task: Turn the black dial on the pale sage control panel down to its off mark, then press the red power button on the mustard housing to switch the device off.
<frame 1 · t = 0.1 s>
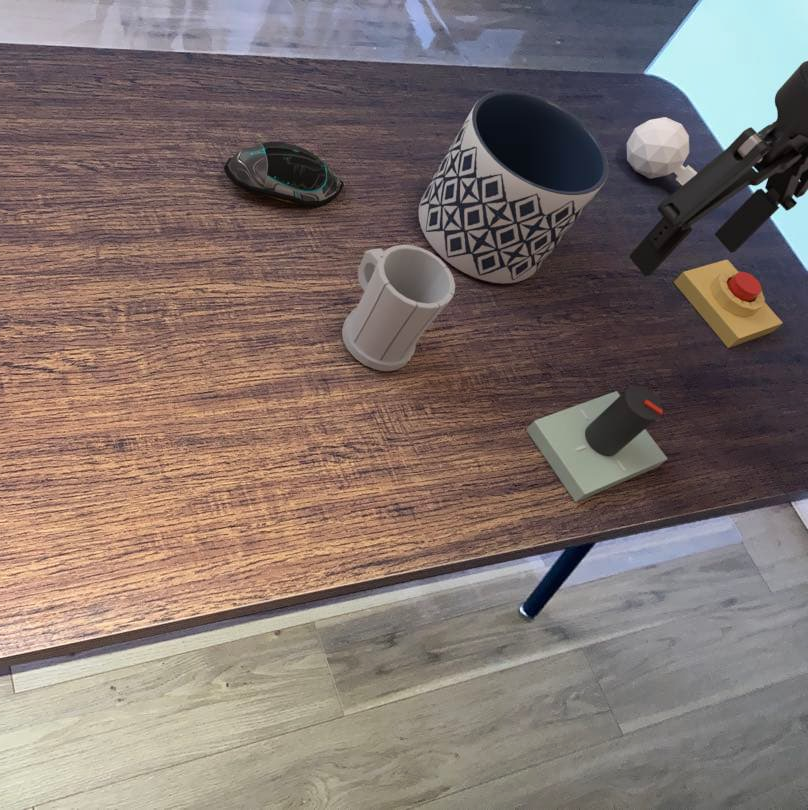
hand: (683, 254, 93), 23 cm above the table, tool pointing down, fingers open, 13 cm apart
planter: (478, 235, 122), on the table
cup: (369, 339, 106), on the table
power box: (722, 307, 128), on the table
computer mouse: (280, 186, 117), on the table
power button: (744, 286, 124), point 4 cm above the table, slide at 0.1 cm
perfume bottle: (646, 176, 141), on the table
control panel: (592, 448, 106), on the table
dial: (623, 420, 101), point 6 cm above the table, hinge at 120.0°
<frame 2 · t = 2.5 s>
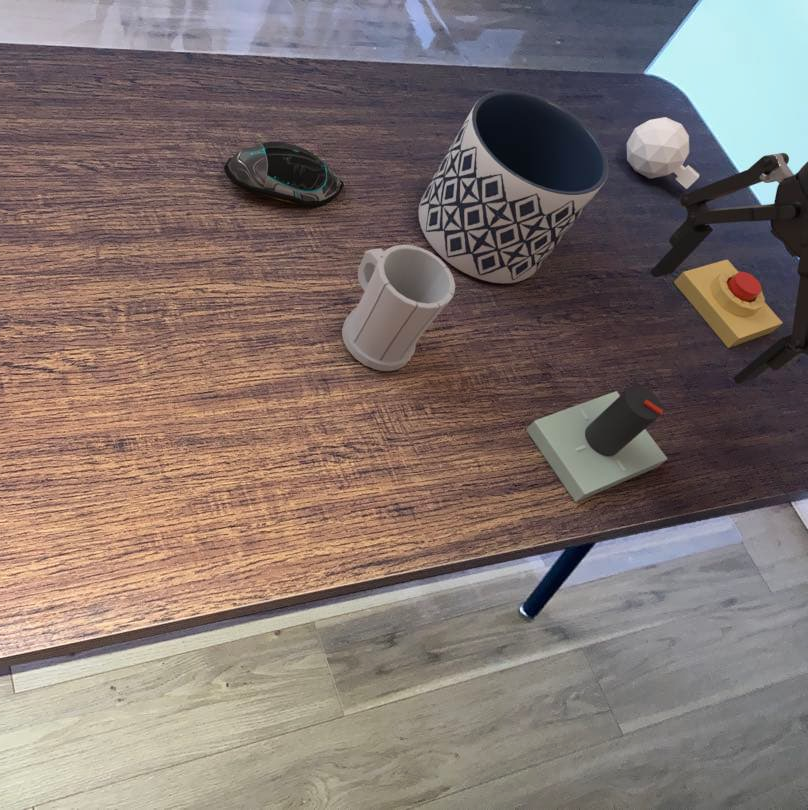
hand: (700, 324, 91), 21 cm above the table, tool pointing down, fingers open, 13 cm apart
nothing on the table moved.
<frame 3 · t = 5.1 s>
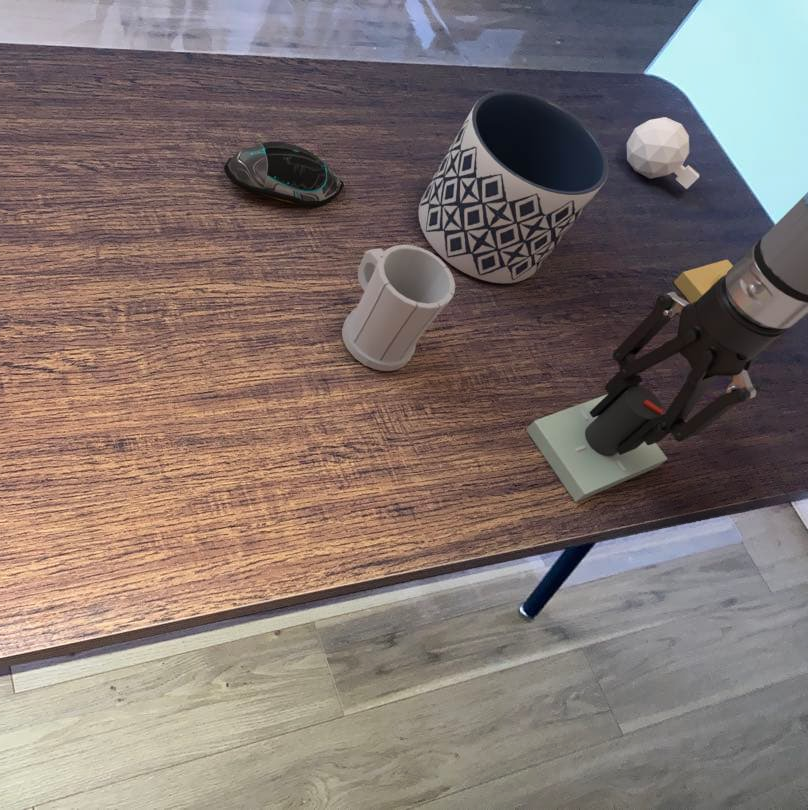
hand: (612, 430, 103), 4 cm above the table, tool pointing down, fingers closed on dial, 4 cm apart
dial: (623, 420, 101), point 6 cm above the table, hinge at 120.0°, touching gripper
everything else where it was.
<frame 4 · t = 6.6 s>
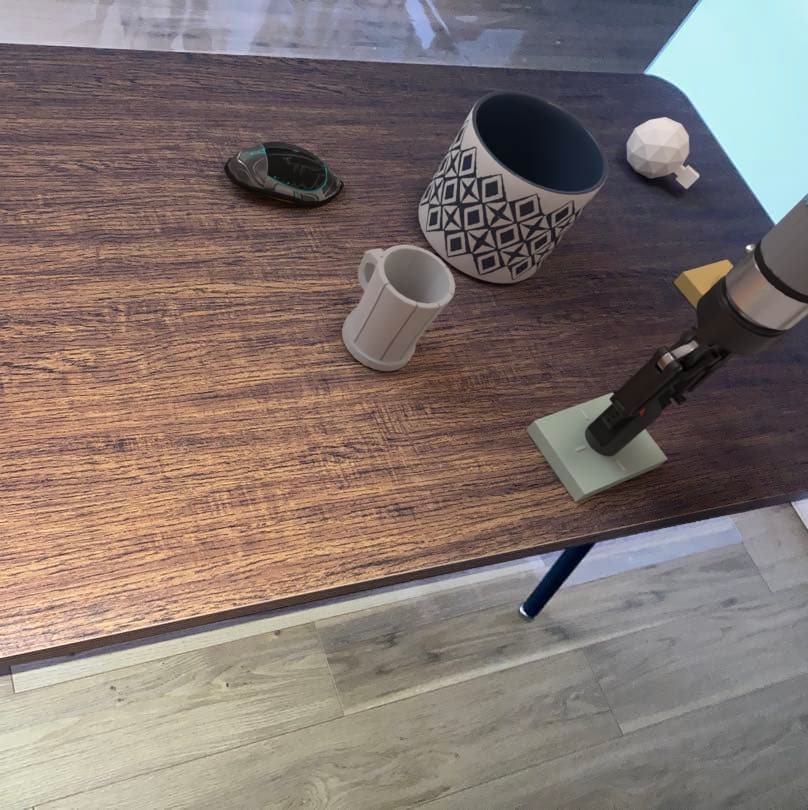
hand: (612, 430, 103), 4 cm above the table, tool pointing down, fingers open, 4 cm apart
dial: (623, 420, 101), point 6 cm above the table, hinge at 30.8°
everything else where it was.
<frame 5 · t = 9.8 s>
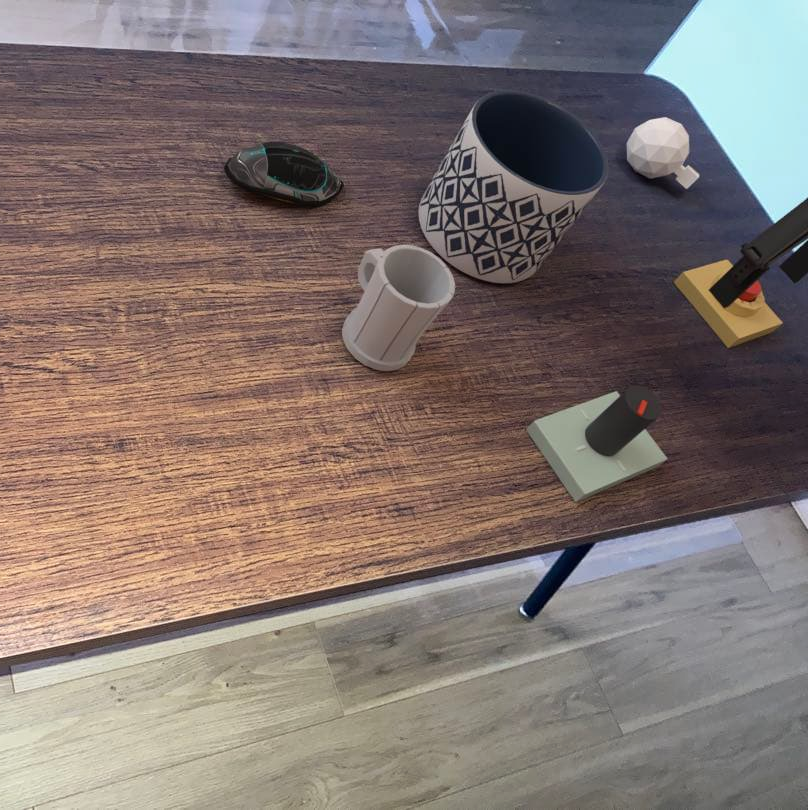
hand: (753, 286, 104), 17 cm above the table, tool pointing down, fingers open, 13 cm apart
nothing on the table moved.
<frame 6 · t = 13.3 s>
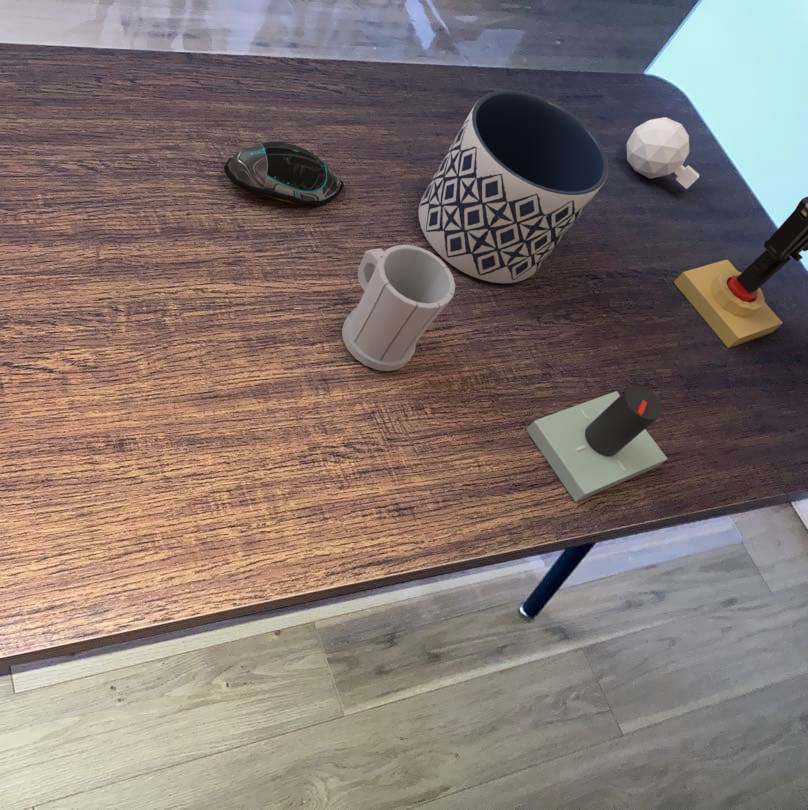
hand: (746, 284, 124), 5 cm above the table, tool pointing down, fingers closed
power button: (740, 290, 125), point 4 cm above the table, slide at -0.6 cm, touching gripper
everything else where it was.
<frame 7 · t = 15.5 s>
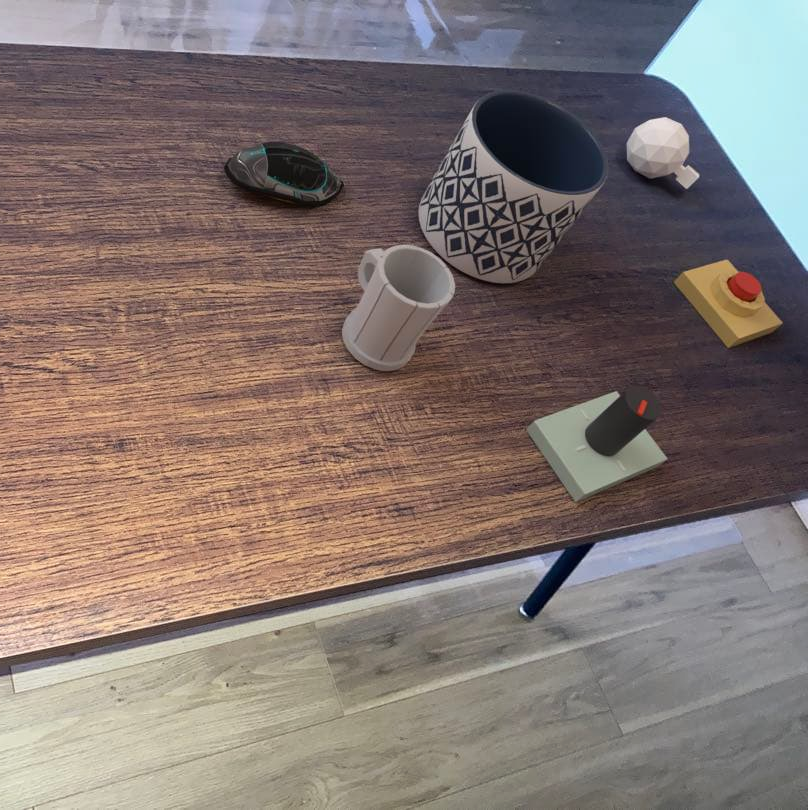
power button: (744, 286, 124), point 4 cm above the table, slide at 0.1 cm
everything else where it was.
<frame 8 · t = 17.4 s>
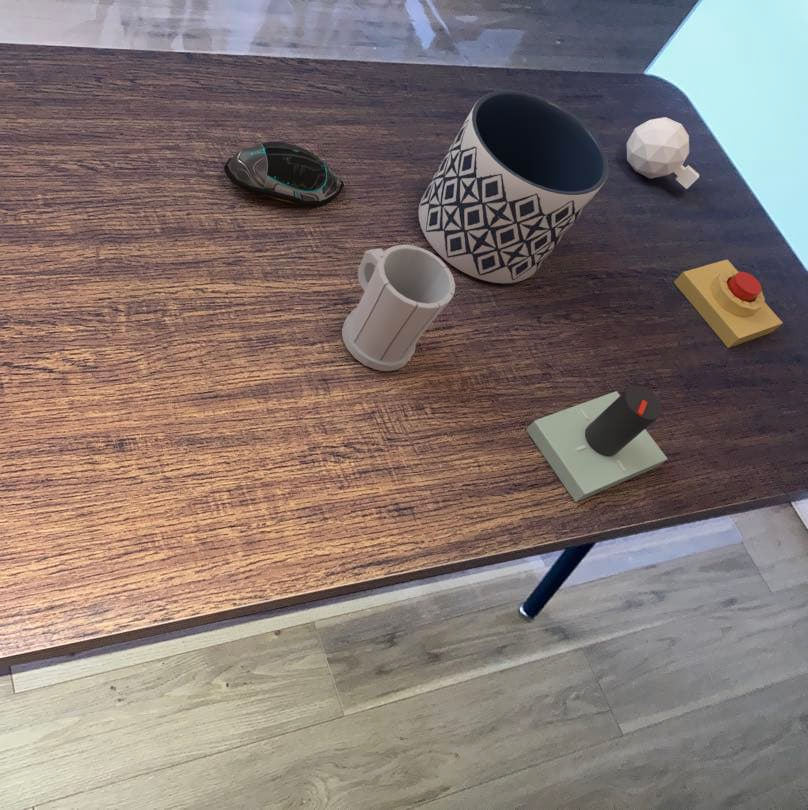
nothing on the table moved.
at the end: dial at +31° (first picture: +120°); power button pushed in 1.0 cm at the most during the clip, back to where it started at the end; power button slide at 0.1 cm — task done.
